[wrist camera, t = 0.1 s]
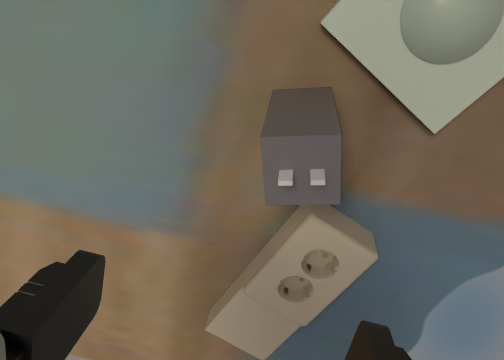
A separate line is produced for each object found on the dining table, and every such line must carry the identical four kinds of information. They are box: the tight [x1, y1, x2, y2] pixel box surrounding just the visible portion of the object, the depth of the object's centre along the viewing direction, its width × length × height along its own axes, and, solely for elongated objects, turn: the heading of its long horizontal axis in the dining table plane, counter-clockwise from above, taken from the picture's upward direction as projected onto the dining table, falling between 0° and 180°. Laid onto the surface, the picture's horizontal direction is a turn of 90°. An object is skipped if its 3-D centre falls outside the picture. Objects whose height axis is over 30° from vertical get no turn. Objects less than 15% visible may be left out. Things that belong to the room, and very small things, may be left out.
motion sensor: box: [320, 0, 504, 134], centre depth 27 cm, size 12×12×1 cm
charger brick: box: [261, 87, 342, 205], centre depth 27 cm, size 4×4×11 cm
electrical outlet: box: [205, 205, 378, 360], centre depth 39 cm, size 7×4×18 cm
